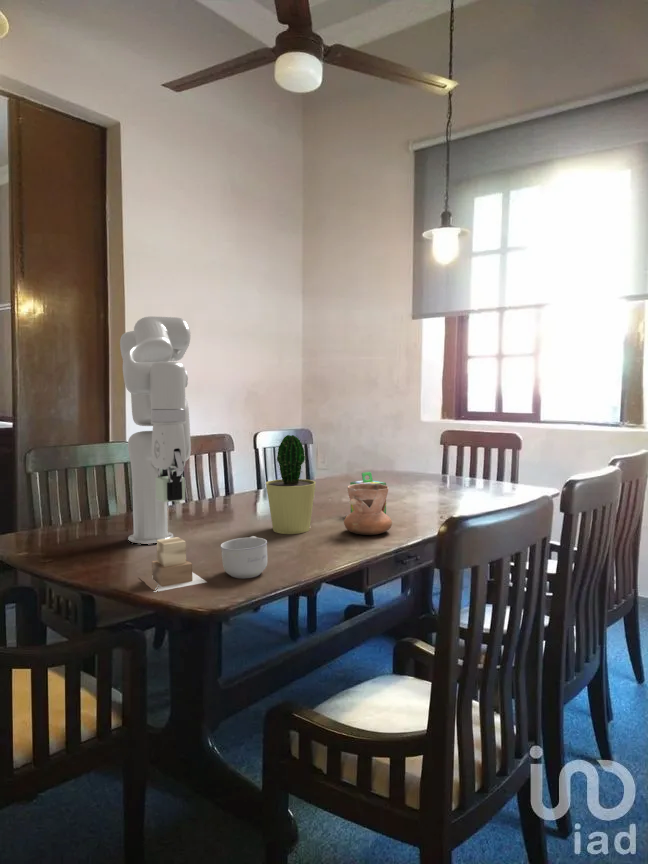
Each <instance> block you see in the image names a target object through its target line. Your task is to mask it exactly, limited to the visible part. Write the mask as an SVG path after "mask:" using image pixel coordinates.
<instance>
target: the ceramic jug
mask: <svg viewBox="0 0 648 864" xmlns="http://www.w3.org/2000/svg"><path fill="white" fill-rule="evenodd" d="M347 493H348V497H349V501H348V503H349V504H350V506H351V505H353V507H354V511H353V512H352V513H351V512H350V513H349V514H348V515H347V516H346V517H345V519H344V520H343V524H344V527H345V529H346V530H348V531H349V532H350V533H353V534H356V535H362V536H375V535H380V534H383V533H386V532H387V531H389V530H390V529H391V527H392V526H393V521H392V519H391V517H390V516H389V515H387V513H386V514H385V513H384V509H385V505H386V506H387V497H388V493H389V486H388V485H387V484H386V485H382V484H377V483H375V484H372V483H361V484H352V485H350V484H349V485H348V486H347Z"/></svg>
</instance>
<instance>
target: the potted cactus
mask: <svg viewBox="0 0 648 864" xmlns="http://www.w3.org/2000/svg"><path fill="white" fill-rule="evenodd" d="M304 447H305V443H303V441H301V439H300V437H298V434H296V435H293V434H292V435H290V433H289V434H287V435H285V434H283V435H282V439H281V440H279V445H278V448H277V455H276V462H277V463H278V467H279V472H280V473H279V474H280V478H279V479H273V480H269V481H268V480H267V481H266V482H265V487H266V492H267V499H268V506H269V512H270V518H271V525H272V530H273V532H275V533H278V534H284V535H297V534H298V535H299V534H304V533H307V532H309V531H310V529H311V528H310V527H311V523H312V522H311V520H312V514H313V505H314V499H315V491H316V483H317V482H316V481H314V480H311V479H306V478H305V479H303V478H301V473H303V466H304V464H307V463H306V461H307V460H308V459H307V454H306V450H305V448H304ZM305 454H306V455H305Z"/></svg>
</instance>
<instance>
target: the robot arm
mask: <svg viewBox="0 0 648 864" xmlns="http://www.w3.org/2000/svg"><path fill="white" fill-rule="evenodd" d="M190 329H191V328H190V327H189V324H188V323H187V321H186V320H185V319H183V318H182V317H172V316H170V317H169V316H145V317H142V318H140V319H139V320H137V321H136V322H135V325H134V327H133V330H131V331H130V330H129V331H127V332H124V333H122V335H121V337H120V340H119V347H120V355H121V358H122V361H123V362H122V374H123V380H124V385H125V388H126V390H127V391H128V392H129V393H130V398H131V399H130V401H131V402H130V403H131V415H132V421H133V422H134V424H135V425H138V426H140V427H152V430H142V431H138V432H135V433H133V434H131V436H129V437H128V440H127V450H128V451H127V452H128V456H129V462H130V467H131V469H130V470H131V479H132V480H131V481H132V482H131V484H132V485H131V486H132V487H131V488H132V489H131V490H132V516H133V517H132V519H133V534H131V535H129V536H128V537H127V538H128V539H127V541H128V540H129V541H131V542H135V543H147V544H148V543H157V540H160V539H167V538H174V533H172V532H170V531H168V502H162V501H160V500H157V499H156V477H162V476H168V480H169V482H168V483H167V499H168V500H169V501H171V502H174V501H173V500H180V501H182V500H181V499H182V477H183V473H184V471H185V466H186V462H187V461H188V460H189V459H190V458H191V452H192V443H191V428H190V427H191V426H190V425H191V424H190V410H189V409H190V408H189V405H188V404H189V403H188V401H187V398H186V388H187V387H188V384H189V382H188V380H189V377H188V370H187V369H185V366H184V364H183V363H182V362H179V361H181V360H182V359H183V358H184V355H185V354H186V353H187V350H188V349H189V346H190V343H191V330H190ZM129 541H128V542H129ZM148 545H149V544H148Z"/></svg>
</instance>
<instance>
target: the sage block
mask: <svg viewBox="0 0 648 864" xmlns="http://www.w3.org/2000/svg"><path fill="white" fill-rule="evenodd" d="M168 482H169V480H168V476H162V477H156V499H157V500H160V501H162V502H167V503H169V502H171V503H172V502H177V501H179V502H180V501H186V477H184V476H182V499H181V500H173V501H169V500H168V499H167V483H168Z"/></svg>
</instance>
